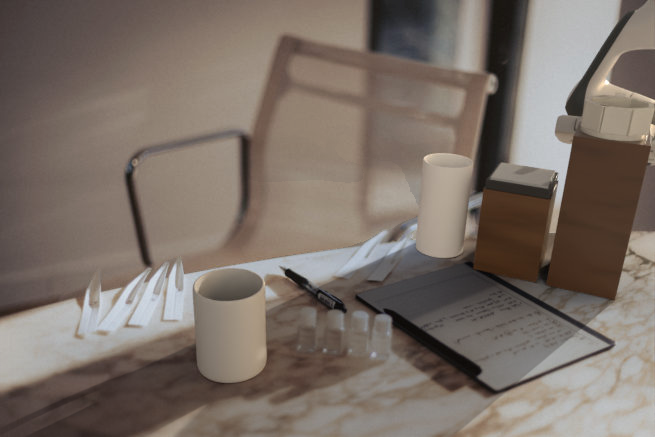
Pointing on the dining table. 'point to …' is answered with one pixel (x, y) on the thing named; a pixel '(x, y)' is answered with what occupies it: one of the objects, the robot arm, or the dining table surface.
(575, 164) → the stand
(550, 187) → the scale
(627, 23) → the robot arm
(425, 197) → the cup
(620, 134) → the cream rounded piece
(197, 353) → the mug
